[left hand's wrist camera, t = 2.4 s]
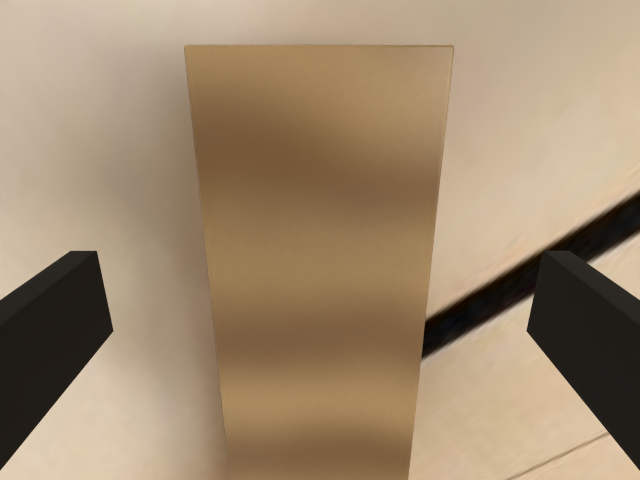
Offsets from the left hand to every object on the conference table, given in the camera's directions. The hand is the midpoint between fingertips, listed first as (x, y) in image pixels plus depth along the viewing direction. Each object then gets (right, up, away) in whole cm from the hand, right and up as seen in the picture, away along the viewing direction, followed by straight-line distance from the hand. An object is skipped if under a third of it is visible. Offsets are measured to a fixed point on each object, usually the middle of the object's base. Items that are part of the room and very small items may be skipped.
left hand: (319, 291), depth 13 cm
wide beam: (0, -13, +18) cm, 22 cm away
